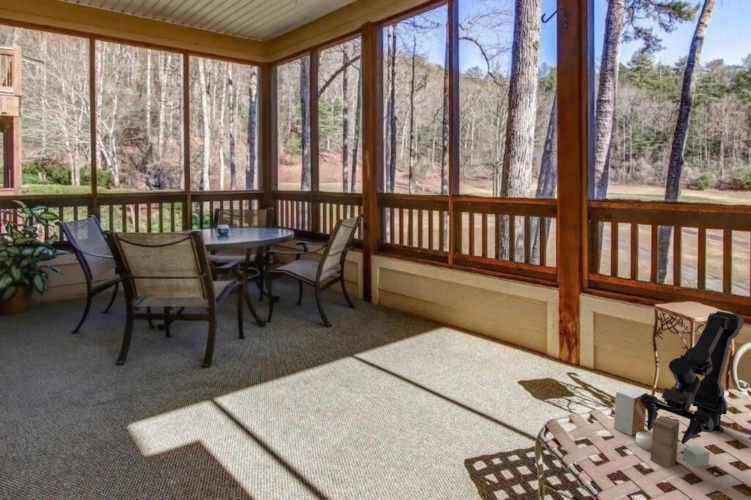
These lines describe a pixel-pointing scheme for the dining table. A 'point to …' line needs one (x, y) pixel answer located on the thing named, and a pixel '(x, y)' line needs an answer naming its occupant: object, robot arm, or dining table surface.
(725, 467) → the dining table surface
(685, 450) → the sage block
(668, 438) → the walnut block
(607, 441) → the dining table surface
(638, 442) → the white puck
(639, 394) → the small box
